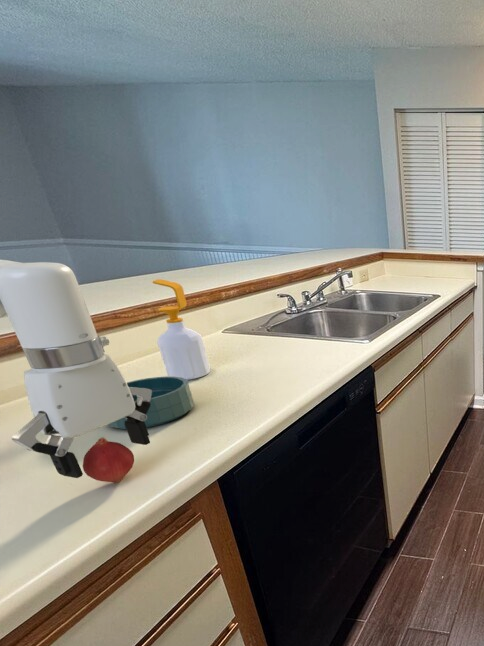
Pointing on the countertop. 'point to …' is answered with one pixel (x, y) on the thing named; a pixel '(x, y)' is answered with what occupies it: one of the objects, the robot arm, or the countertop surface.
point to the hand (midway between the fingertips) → (109, 458)
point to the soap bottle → (181, 342)
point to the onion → (108, 461)
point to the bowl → (162, 400)
